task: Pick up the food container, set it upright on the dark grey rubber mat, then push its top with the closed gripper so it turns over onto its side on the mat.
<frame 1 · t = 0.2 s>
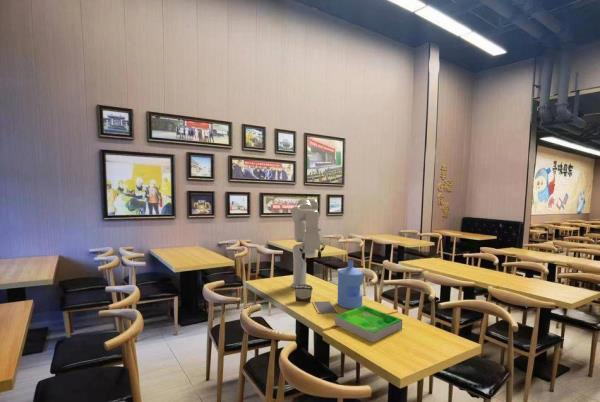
hand: (311, 258, 183), 30 cm above the table, fingers open, 9 cm apart
tray: (368, 327, 162), on the table
mat: (324, 307, 187), on the table
water jug: (349, 304, 192), on the table
food container: (303, 301, 198), on the table
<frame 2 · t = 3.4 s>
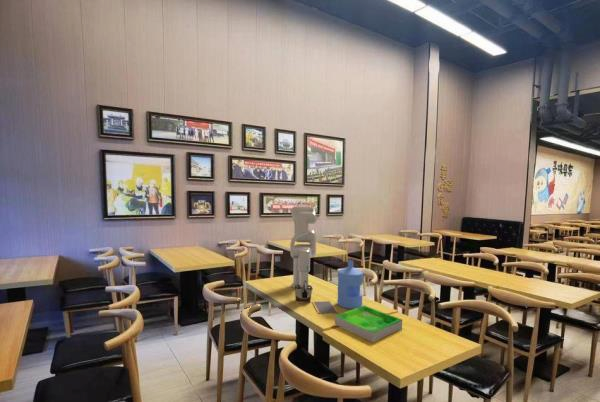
hand: (303, 295, 198), 3 cm above the table, fingers closed on food container, 6 cm apart
food container: (303, 300, 198), on the table, touching gripper
everything else where it was.
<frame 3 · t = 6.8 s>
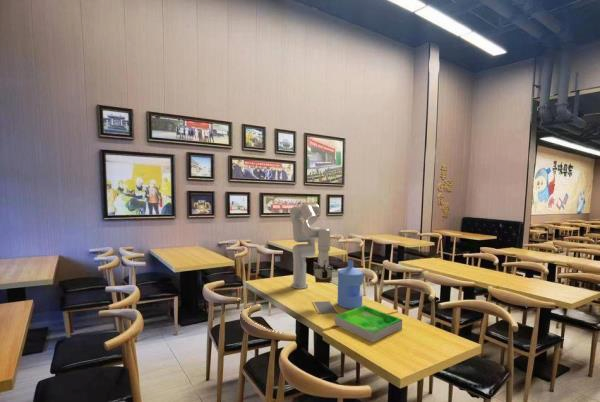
hand: (323, 276, 191), 18 cm above the table, fingers closed on food container, 6 cm apart
food container: (323, 281, 192), point 14 cm above the table, touching gripper
everything else where it was.
when the fingers open (5 cm above the table, at t = 10.0 s): food container stays where it is, resting on mat.
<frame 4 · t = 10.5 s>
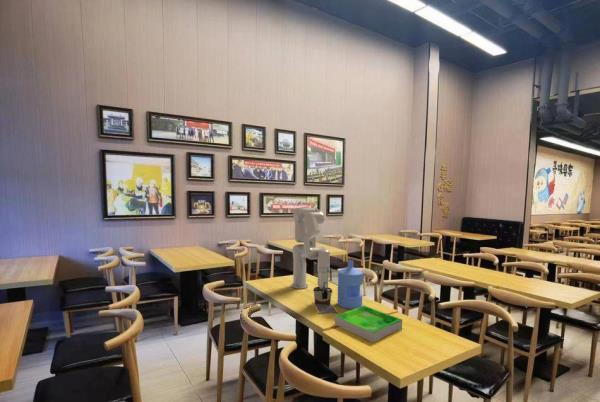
hand: (322, 296, 192), 5 cm above the table, fingers open, 9 cm apart
food container: (322, 303, 193), resting on mat
everything else where it was.
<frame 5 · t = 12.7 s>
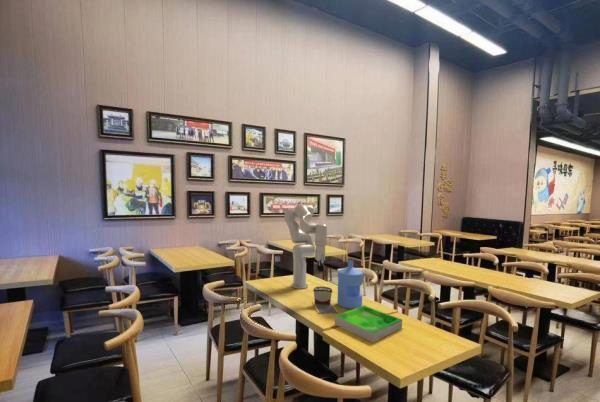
hand: (320, 270, 200), 19 cm above the table, fingers closed
nothing on the table moved.
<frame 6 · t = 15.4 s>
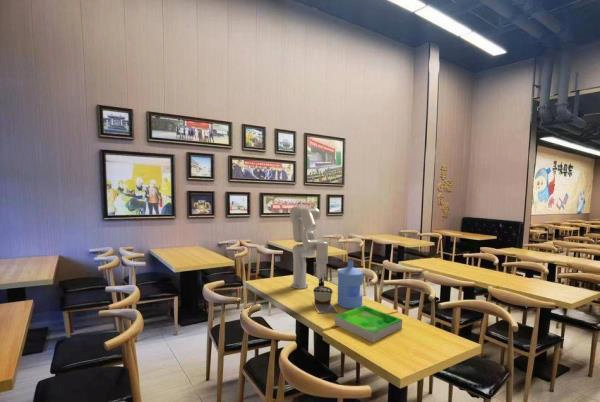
hand: (321, 289, 196), 8 cm above the table, fingers closed
food container: (322, 302, 193), point 1 cm above the table, touching gripper, mat
everything else where it was.
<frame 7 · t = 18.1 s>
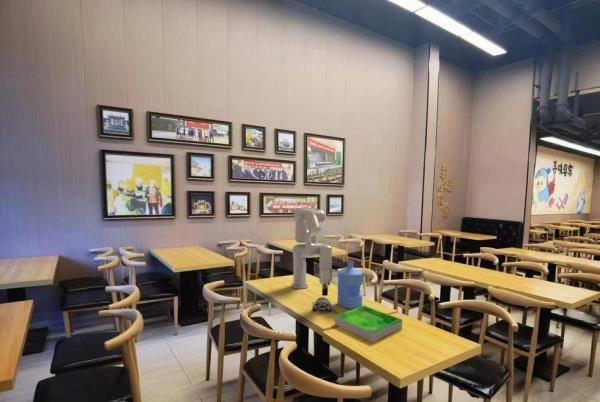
hand: (324, 295, 187), 8 cm above the table, fingers closed
food container: (322, 300, 189), point 4 cm above the table, touching mat
everything else where it was.
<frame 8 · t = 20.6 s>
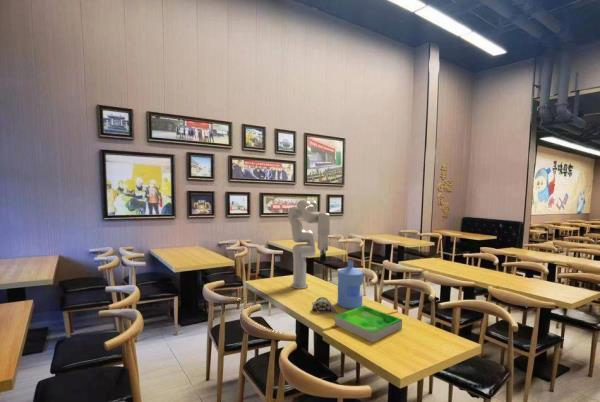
hand: (322, 261, 193), 27 cm above the table, fingers closed
nothing on the table moved.
at the end: food container tilted 90°; food container inside the target area (4.5 cm from its centre), point 3.5 cm above the table; the gripper is holding nothing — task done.
